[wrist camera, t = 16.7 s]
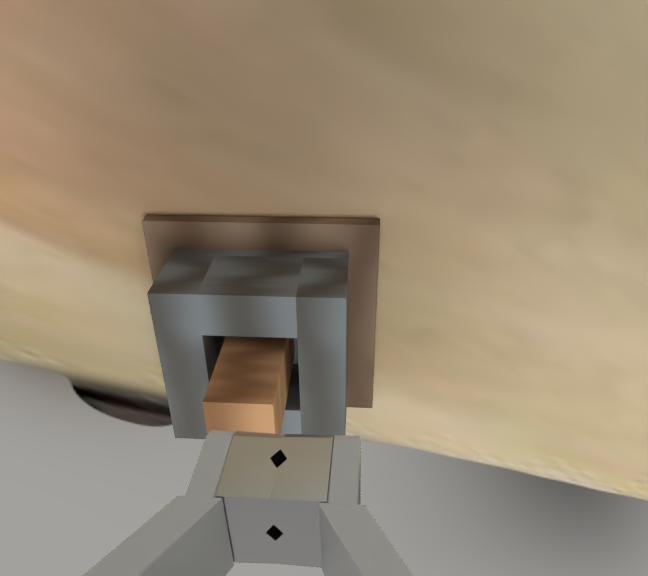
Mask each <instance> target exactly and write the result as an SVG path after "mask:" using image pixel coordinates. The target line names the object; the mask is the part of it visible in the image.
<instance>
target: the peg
mask: <svg viewBox="0 0 648 576" xmlns="http://www.w3.org/2000/svg"><path fill="white" fill-rule="evenodd" d="M294 355H295V344H294V338H274V337H240V336H226V337H225V340H224V342H223V345H222V348H221V351H220V354H219V357H218V359H217V362H216V365H215V368H214V371H213V373H212V376H211V379H210V382H209V385H208V388H207V390H206V393H205V396H204V399H203V402H202V403H203V409H204V416H205V422H206V429H207V435H208V434H209V432H210V431H211V430H221V431H244V432H259V433H274V434H281V429H282V423H283V418H284V412H285V406H286V401H287V395H288V389H289V384H290V378H291V372H292V367H293V361H294Z"/></svg>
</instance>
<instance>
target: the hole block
mask: <svg viewBox="0 0 648 576" xmlns="http://www.w3.org/2000/svg"><path fill="white" fill-rule="evenodd" d="M142 224H143V229H144V235H145V240H146V246H147V251H148V256H149V262H150V267H151V273H152V278H153V285H152V287H151V288H150V290H149V291H148V293H147V294H148V299H149V305H150V310H151V315H152V320H153V325H154V331H155V336H156V341H157V346H158V351H159V356H160V362H161V367H162V372H163V377H164V382H165V387H166V393H167V398H168V403H169V408H170V413H171V418H172V424H173V429H174V434H175V438H194V439H206V436H207V429H206V422H205V416H204V409H203V403H202V402H203V399H204V396H205V393H206V390H207V388H208V385H209V382H210V379H211V376H212V373H213V371H214V368H215V365H216V362H217V359H218V357H219V354H220V351H221V348H222V345H223V342H224V340H225V337H226V336H240V337H274V338H294V344H295V355H294V361H293V367H292V372H291V378H290V384H289V389H288V395H287V401H286V406H285V412H284V418H283V423H282V429H281V434H310V435H334V436H335V435H343V436H345V428H346V407H359V408H372V401H373V377H374V354H375V330H376V306H377V282H378V259H379V235H380V219H360V218H302V217H244V216H187V215H146V216H145V218H144V219H143V220H142Z"/></svg>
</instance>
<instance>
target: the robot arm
mask: <svg viewBox="0 0 648 576" xmlns="http://www.w3.org/2000/svg"><path fill="white" fill-rule="evenodd" d="M360 467H361V438H360V436H343V435H335V436H334V435H310V434H274V433H259V432H244V431H221V430H211V431H210V432H209V434H208V435H207V436H206V439H205V442H204V445H203V448H202V450H201V453H200V456H199V459H198V462H197V465H196V468H195V470H194V473H193V476H192V479H191V482H190V485H189V487H188V491H187V493H186V496H177V497H176V498H175V499H174V500H172V501H171V502H170V503H169V504H168V505H166V506H165V507H164V508H163V509H162V510H160V511H159V512H158V513H157V514H156V515H154V516H153V517H152V518H151V519H150V520H149V521H147V522H146V523H145V524H144V525H143V526H142V527H140V528H139V529H138V530H137V531H135V532H134V533H133V534H132V535H131V536H130V537H128V538H127V539H126V540H125V541H123V542H122V543H121V544H120V545H119V546H117V547H116V548H115V549H114V550H113V551H111V552H110V553H109V554H108V555H107V556H105V557H104V558H103V559H102V560H101V561H100V562H98V563H97V564H96V565H95V566H94V567H92V568H91V569H90V570H89V571H88V572H86V573H85V574H84V575H83V576H225V575H226V574H227V573H228V572H229V571H230V569H231V568H232V567H233V566H234V562H241V563H242V562H243V563H273V564H287V565H299V566H310V567H321V568H322V570H323V573H324V575H325V576H413V574H412V573H411V571H410V570H409V568H408V567H407V565H406V564H405V562H404V561H403V559H402V558H401V557H400V555H399V554H398V552H397V551H396V549H395V548H394V547H393V545H392V544H391V542H390V540H389V539H388V538H387V536H386V535H385V533H384V532H383V530H382V529H381V527H380V526H379V524H378V523H377V522H376V520H375V519H374V517H373V516H372V514H371V513H370V511H369V510H368V508H367V507H366V506H365V505H360V476H361V468H360Z"/></svg>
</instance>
